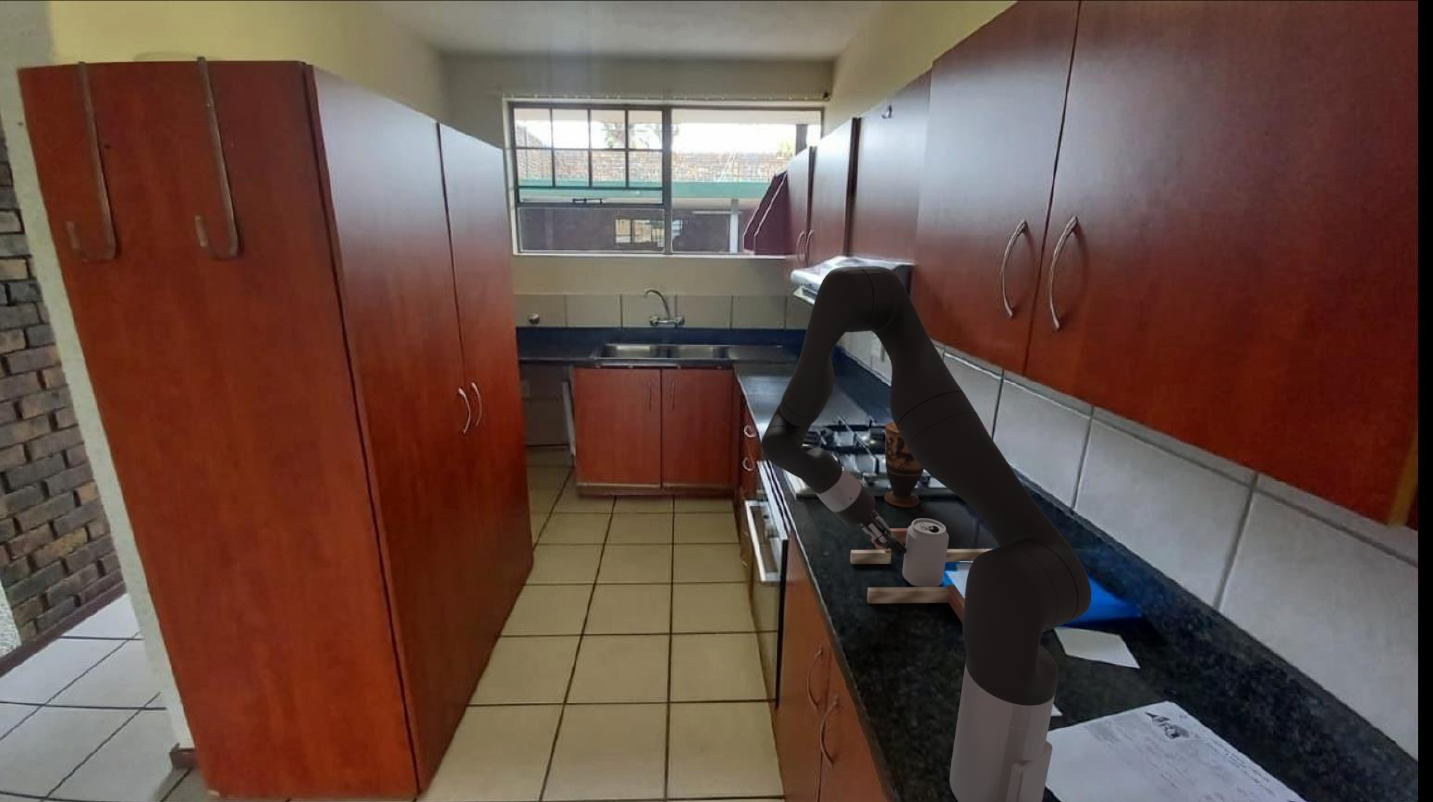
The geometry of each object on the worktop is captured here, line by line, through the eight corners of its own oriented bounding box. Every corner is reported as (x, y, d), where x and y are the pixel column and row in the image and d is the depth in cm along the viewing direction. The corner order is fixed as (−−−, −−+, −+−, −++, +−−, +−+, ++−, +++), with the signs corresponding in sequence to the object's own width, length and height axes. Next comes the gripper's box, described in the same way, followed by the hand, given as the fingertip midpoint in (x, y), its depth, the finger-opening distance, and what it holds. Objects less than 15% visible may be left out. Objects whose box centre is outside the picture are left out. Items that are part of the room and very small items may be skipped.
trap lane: (881, 632, 100) (882, 617, 99) (841, 541, 129) (842, 528, 128) (1070, 630, 100) (1073, 615, 100) (988, 539, 130) (990, 527, 129)
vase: (883, 509, 144) (894, 391, 135) (875, 490, 154) (884, 380, 146) (929, 511, 143) (942, 392, 134) (917, 492, 153) (929, 380, 145)
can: (941, 595, 110) (949, 538, 106) (899, 586, 113) (906, 530, 109) (943, 574, 116) (950, 520, 113) (903, 566, 119) (910, 512, 116)
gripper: (869, 497, 102) (930, 558, 106) (850, 467, 115) (905, 523, 119) (837, 525, 104) (898, 584, 108) (821, 492, 116) (877, 546, 120)
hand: (902, 552), depth 113 cm, fingers closed
